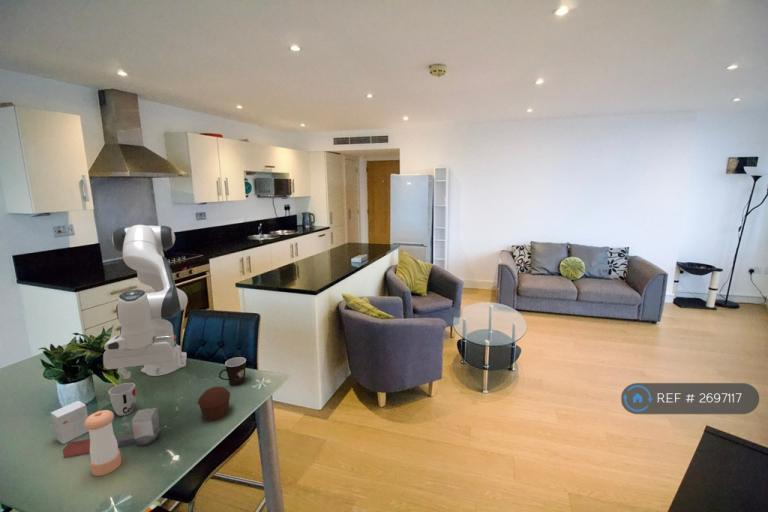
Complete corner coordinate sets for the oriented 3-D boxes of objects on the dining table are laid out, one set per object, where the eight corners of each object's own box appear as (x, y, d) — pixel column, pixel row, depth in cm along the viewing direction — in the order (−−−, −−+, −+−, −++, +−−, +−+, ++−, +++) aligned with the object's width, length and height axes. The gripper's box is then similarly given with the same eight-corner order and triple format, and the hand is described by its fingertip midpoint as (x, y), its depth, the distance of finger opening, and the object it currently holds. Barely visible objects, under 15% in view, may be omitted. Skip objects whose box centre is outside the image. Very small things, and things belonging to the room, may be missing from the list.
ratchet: (73, 446, 115) (70, 430, 113) (162, 430, 122) (161, 416, 121) (60, 461, 108) (57, 445, 107) (156, 444, 116) (154, 429, 115)
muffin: (210, 403, 138) (208, 381, 136) (236, 404, 138) (235, 382, 136) (192, 422, 127) (190, 398, 125) (221, 424, 126) (219, 399, 124)
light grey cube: (140, 428, 119) (138, 410, 118) (159, 425, 121) (156, 407, 120) (134, 439, 114) (131, 420, 113) (153, 435, 116) (151, 417, 114)
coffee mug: (245, 375, 160) (244, 355, 158) (248, 384, 152) (247, 363, 150) (218, 382, 154) (216, 361, 152) (220, 391, 146) (218, 370, 145)
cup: (124, 419, 128) (120, 395, 126) (106, 416, 130) (102, 393, 128) (143, 406, 136) (140, 383, 134) (126, 403, 137) (123, 381, 136)
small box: (83, 425, 125) (79, 399, 123) (91, 430, 122) (86, 404, 120) (55, 439, 118) (49, 412, 116) (62, 445, 115) (57, 417, 113)
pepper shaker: (116, 472, 104) (107, 416, 100) (87, 478, 102) (77, 422, 98) (125, 455, 111) (117, 402, 107) (98, 461, 108) (88, 407, 105)
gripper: (176, 331, 119) (180, 366, 122) (107, 337, 114) (113, 375, 116) (170, 339, 114) (175, 376, 116) (97, 346, 108) (104, 385, 111)
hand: (143, 375), depth 116 cm, fingers open, 8 cm apart
